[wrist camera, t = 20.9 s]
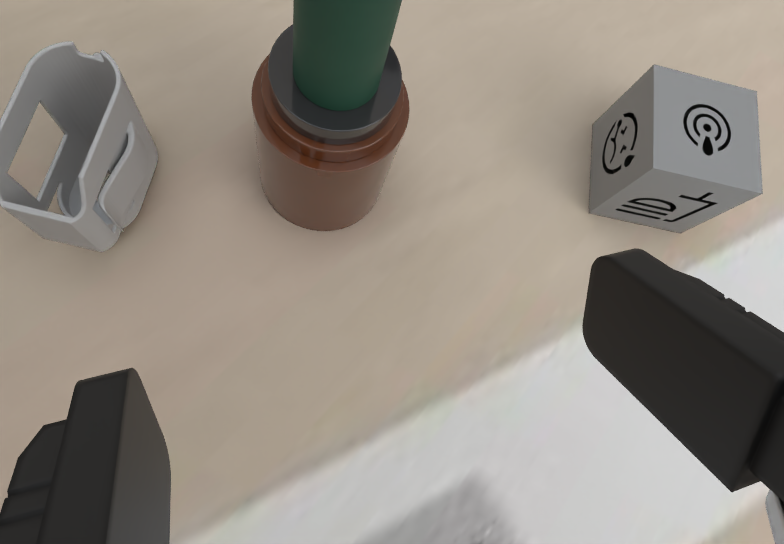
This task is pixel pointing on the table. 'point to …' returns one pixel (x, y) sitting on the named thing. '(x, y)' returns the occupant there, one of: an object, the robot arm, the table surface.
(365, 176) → the brown bottle
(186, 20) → the table surface
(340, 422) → the table surface
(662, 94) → the icon cube
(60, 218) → the cable organizer
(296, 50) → the green bottle
